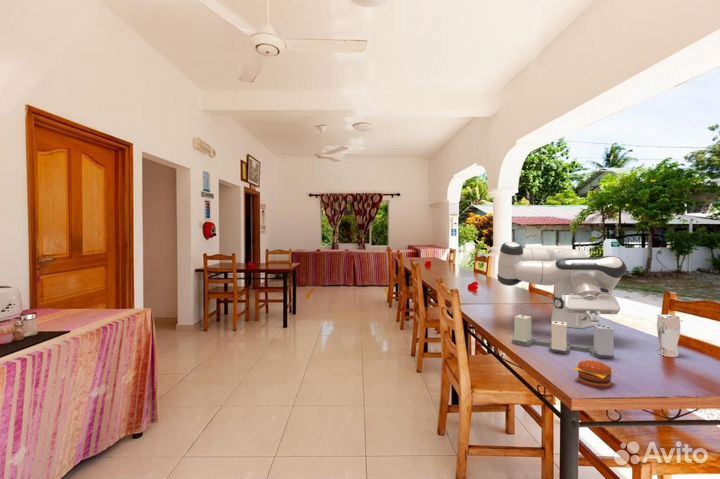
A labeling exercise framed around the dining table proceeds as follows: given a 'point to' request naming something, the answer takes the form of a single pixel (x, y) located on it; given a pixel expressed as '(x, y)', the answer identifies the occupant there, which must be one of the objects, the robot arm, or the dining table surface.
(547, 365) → the dining table surface
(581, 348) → the grey flat piece
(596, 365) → the hamburger
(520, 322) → the key one dot
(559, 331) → the key two dots
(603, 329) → the key three dots
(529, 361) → the dining table surface
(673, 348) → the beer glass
